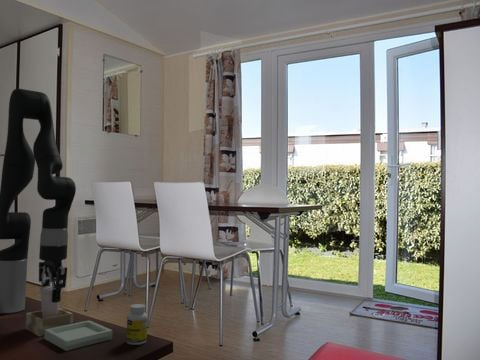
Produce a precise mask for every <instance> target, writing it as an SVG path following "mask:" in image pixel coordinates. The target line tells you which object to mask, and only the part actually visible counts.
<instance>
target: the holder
mask: <svg viewBox="0 0 480 360" xmlns="http://www.w3.org/2000/svg"><path fill="white" fill-rule="evenodd" d="M69 324H74V313H73V312H71V311H68V310H65V309H63V308H61V307H59V309H58V315H57V316H54V317H49V318H44V319H43V318H42V309H41V310H36V311H31V312H30V311H29V312H26V315H25V330H27V331H29V332H31V333H32V334H34V335H35V336H37V337H43V336H44V335H45V329H50V328H55V327H60V326H65V325H69Z"/></svg>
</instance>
